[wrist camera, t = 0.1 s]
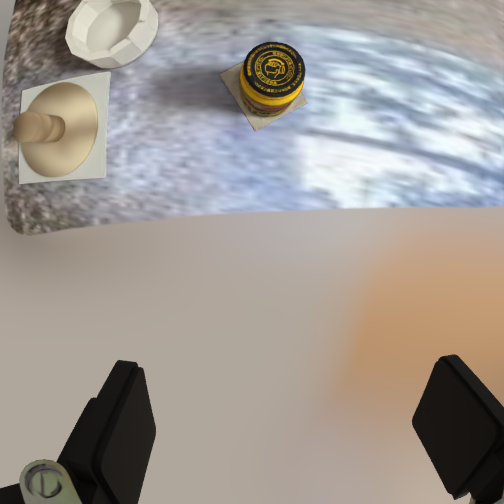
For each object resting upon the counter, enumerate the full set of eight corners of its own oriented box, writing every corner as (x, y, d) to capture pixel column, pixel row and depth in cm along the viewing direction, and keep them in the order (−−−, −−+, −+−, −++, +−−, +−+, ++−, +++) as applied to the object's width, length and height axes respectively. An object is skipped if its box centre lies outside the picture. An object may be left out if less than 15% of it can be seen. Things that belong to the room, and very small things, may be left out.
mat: (24, 91, 32) (22, 90, 32) (110, 72, 33) (109, 71, 32) (21, 183, 36) (19, 184, 36) (106, 177, 37) (104, 177, 36)
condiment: (255, 131, 36) (260, 118, 24) (219, 75, 34) (208, 40, 22) (307, 103, 35) (334, 80, 23) (271, 47, 33) (281, 5, 21)
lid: (27, 92, 32) (-7, 85, 24) (101, 76, 32) (73, 61, 25) (23, 180, 36) (-11, 186, 28) (97, 174, 36) (66, 178, 28)
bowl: (90, 7, 29) (74, -6, 24) (163, -6, 30) (154, -23, 25) (78, 74, 32) (60, 66, 28) (154, 63, 33) (142, 51, 28)
